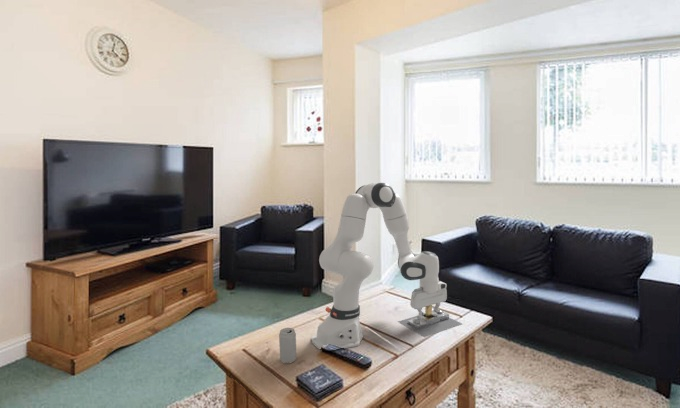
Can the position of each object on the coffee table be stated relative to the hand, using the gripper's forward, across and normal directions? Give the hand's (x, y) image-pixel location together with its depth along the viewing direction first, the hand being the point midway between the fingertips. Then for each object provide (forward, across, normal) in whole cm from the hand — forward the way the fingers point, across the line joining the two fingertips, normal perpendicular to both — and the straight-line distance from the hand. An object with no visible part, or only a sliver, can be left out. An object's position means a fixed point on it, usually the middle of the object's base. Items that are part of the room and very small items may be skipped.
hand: (428, 313), depth 172 cm
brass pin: (+4, 0, 0) cm, 4 cm away
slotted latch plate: (+4, 0, 0) cm, 4 cm away
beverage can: (+4, -70, +4) cm, 70 cm away
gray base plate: (+4, -1, -2) cm, 5 cm away
